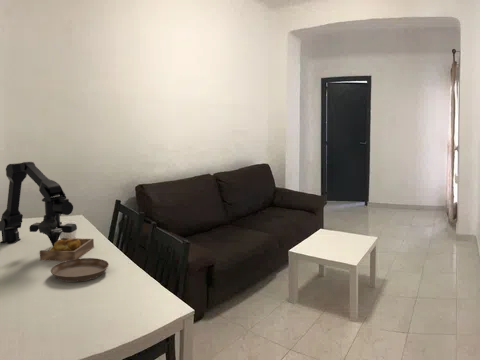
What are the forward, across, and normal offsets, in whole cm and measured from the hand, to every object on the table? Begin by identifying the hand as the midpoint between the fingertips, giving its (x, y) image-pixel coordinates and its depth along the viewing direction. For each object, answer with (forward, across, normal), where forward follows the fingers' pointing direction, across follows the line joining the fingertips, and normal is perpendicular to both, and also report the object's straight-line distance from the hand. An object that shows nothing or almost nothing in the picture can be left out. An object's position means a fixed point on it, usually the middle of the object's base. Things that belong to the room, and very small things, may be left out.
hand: (54, 246), depth 173 cm
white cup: (+3, -1, +15) cm, 15 cm away
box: (+3, +6, 0) cm, 7 cm away
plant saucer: (+3, +22, -23) cm, 32 cm away
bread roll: (+3, +6, -2) cm, 7 cm away
